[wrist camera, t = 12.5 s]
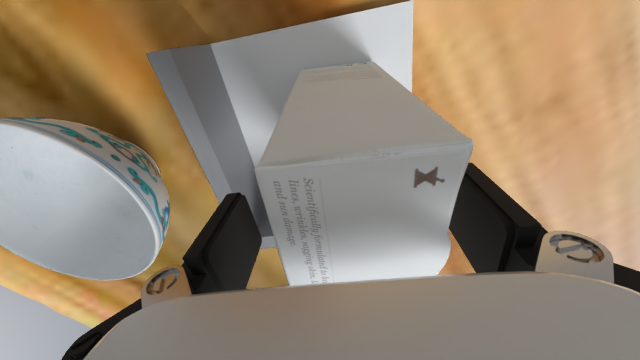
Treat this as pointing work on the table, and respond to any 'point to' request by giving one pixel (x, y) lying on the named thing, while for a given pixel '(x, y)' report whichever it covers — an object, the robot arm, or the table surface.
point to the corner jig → (268, 87)
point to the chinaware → (79, 199)
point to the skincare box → (360, 178)
